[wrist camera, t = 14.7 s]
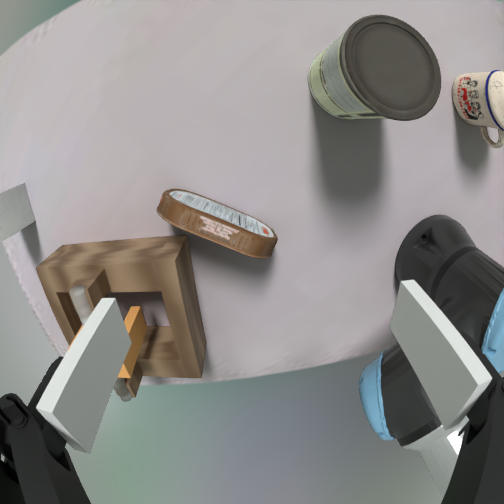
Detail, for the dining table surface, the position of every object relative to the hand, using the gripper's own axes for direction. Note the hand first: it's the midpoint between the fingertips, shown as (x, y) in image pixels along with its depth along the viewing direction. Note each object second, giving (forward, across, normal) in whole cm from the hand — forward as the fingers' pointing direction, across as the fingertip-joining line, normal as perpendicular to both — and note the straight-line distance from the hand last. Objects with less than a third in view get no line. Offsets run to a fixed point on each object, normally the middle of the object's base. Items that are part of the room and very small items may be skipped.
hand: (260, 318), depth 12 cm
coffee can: (+27, -13, -14) cm, 33 cm away
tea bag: (+27, +38, -2) cm, 47 cm away
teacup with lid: (+27, -36, -14) cm, 47 cm away
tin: (+27, +4, +3) cm, 27 cm away
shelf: (+27, +20, +16) cm, 37 cm away
